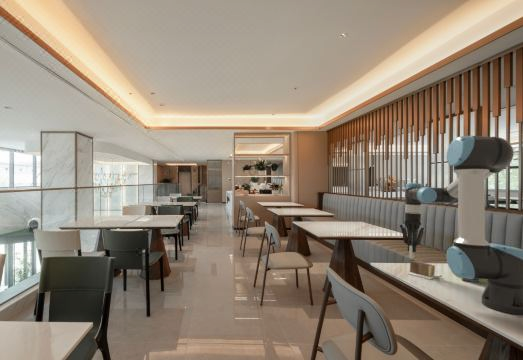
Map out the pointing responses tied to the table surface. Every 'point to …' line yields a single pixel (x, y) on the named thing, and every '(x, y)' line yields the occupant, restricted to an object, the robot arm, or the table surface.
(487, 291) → the robot arm
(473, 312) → the table surface
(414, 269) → the bronze block
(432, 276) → the grey mat
